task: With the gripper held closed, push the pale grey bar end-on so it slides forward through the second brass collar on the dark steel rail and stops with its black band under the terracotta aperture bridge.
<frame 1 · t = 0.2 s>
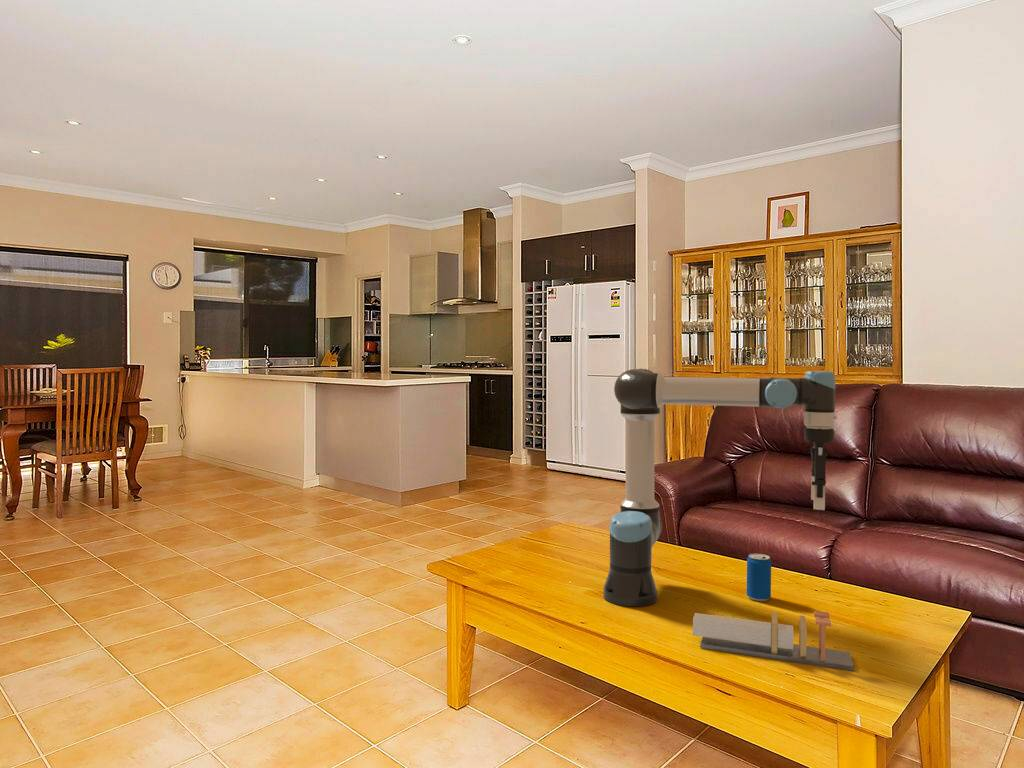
hand: (817, 504, 186), 28 cm above the table, fingers open, 13 cm apart
beverage can: (758, 598, 192), on the table
aperture gantry: (821, 659, 152), resting on rail
pale grey bar: (742, 630, 158), point 4 cm above the table, slide at 0.0 cm
rail: (774, 652, 156), on the table
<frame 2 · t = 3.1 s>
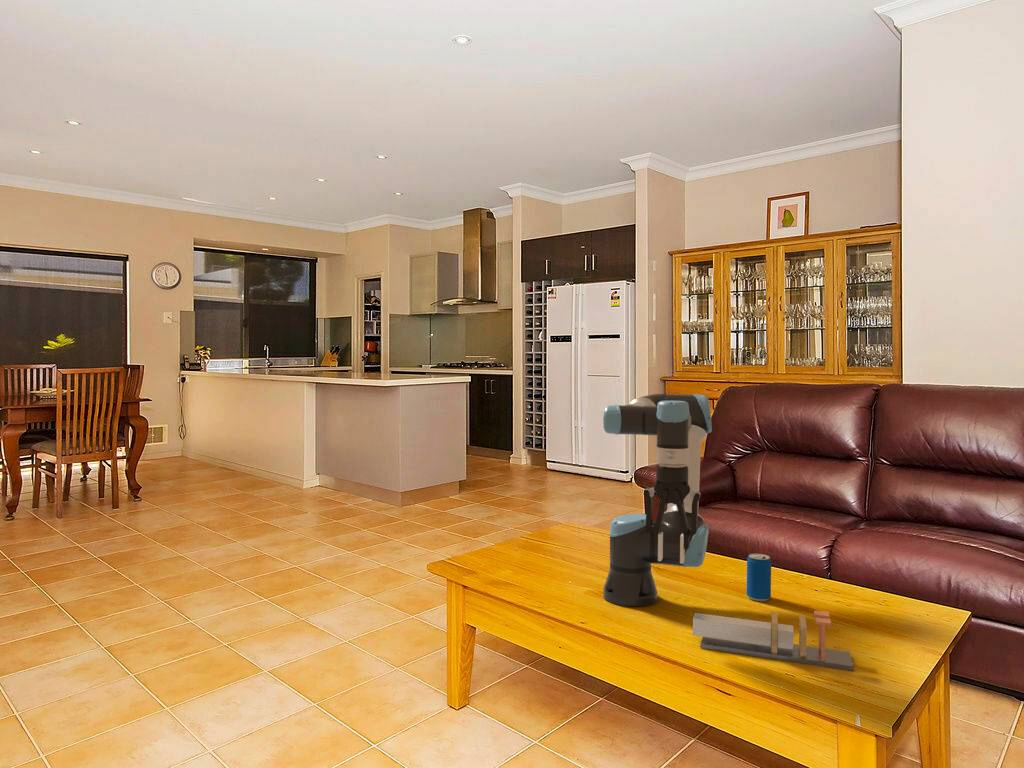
hand: (671, 560, 164), 19 cm above the table, fingers open, 4 cm apart
nothing on the table moved.
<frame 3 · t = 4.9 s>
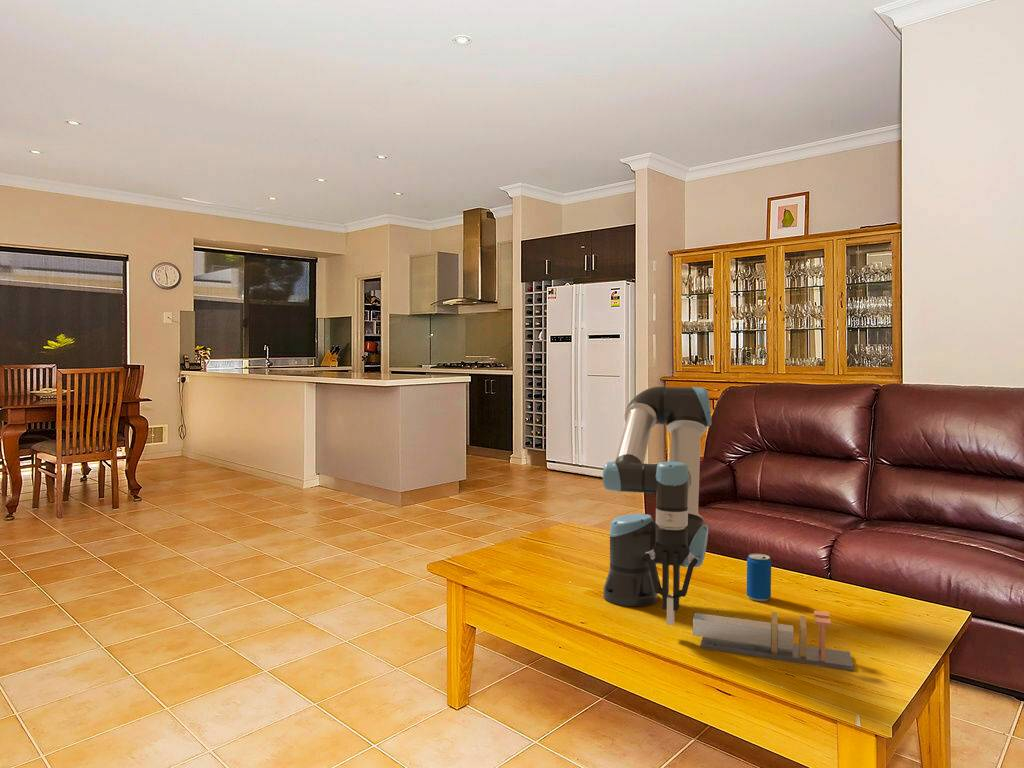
hand: (670, 622, 164), 3 cm above the table, fingers closed
nothing on the table moved.
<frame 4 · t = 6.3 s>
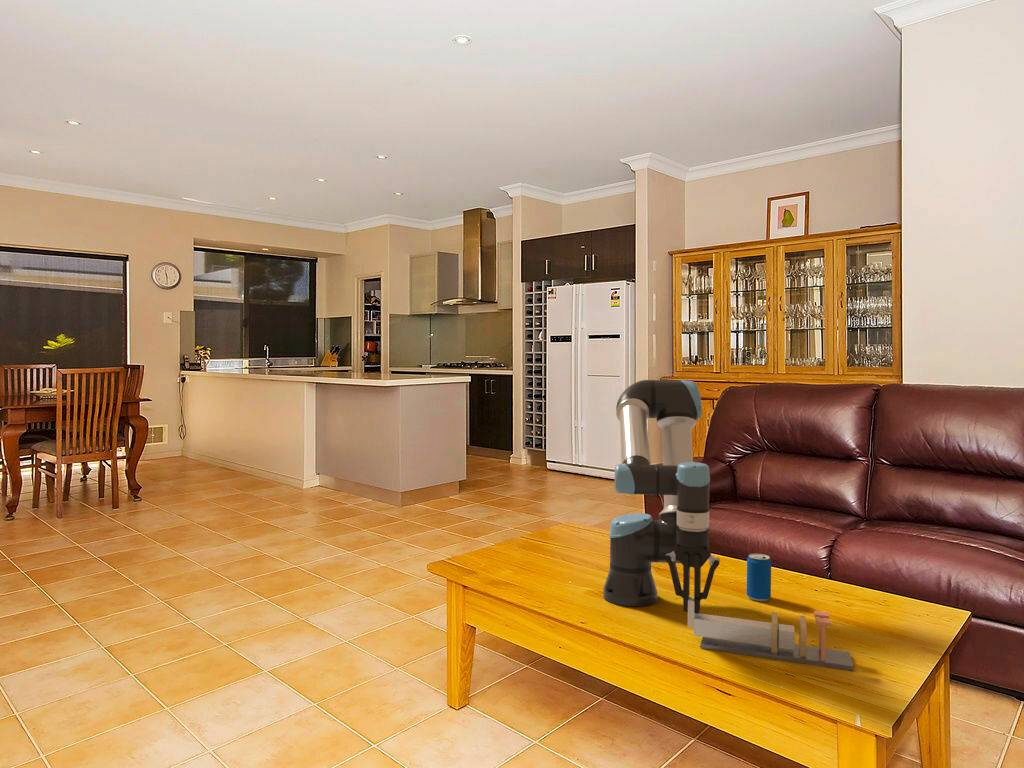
hand: (691, 625, 162), 4 cm above the table, fingers closed
pale grey bar: (743, 630, 158), point 4 cm above the table, slide at 0.2 cm, touching gripper
everything else where it was.
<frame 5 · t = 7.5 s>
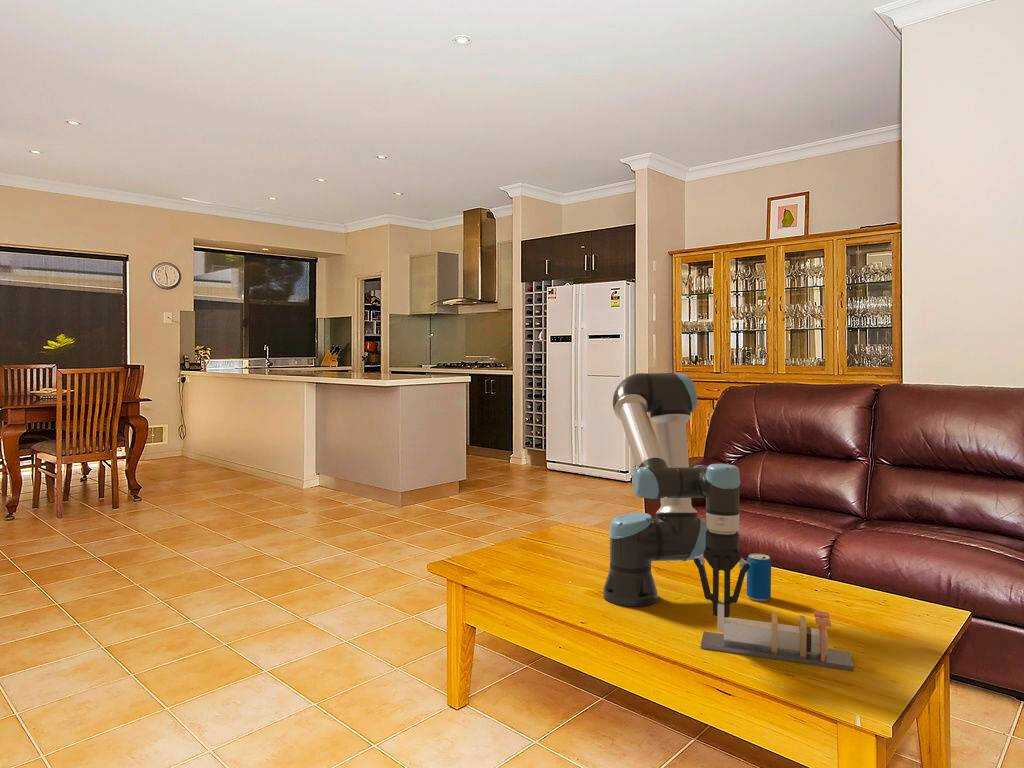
hand: (721, 629, 160), 4 cm above the table, fingers closed
pale grey bar: (774, 634, 156), point 4 cm above the table, slide at 7.0 cm, touching gripper
everything else where it was.
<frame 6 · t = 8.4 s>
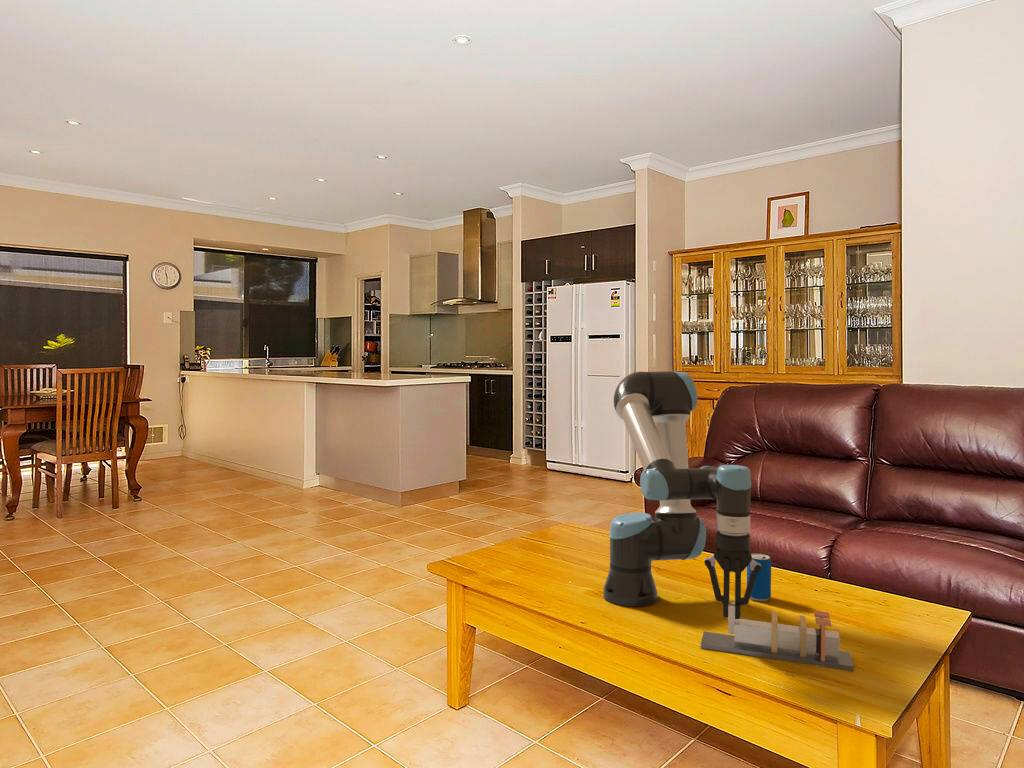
hand: (731, 631, 159), 3 cm above the table, fingers closed
pale grey bar: (785, 636, 155), point 4 cm above the table, slide at 9.4 cm, touching gripper
everything else where it was.
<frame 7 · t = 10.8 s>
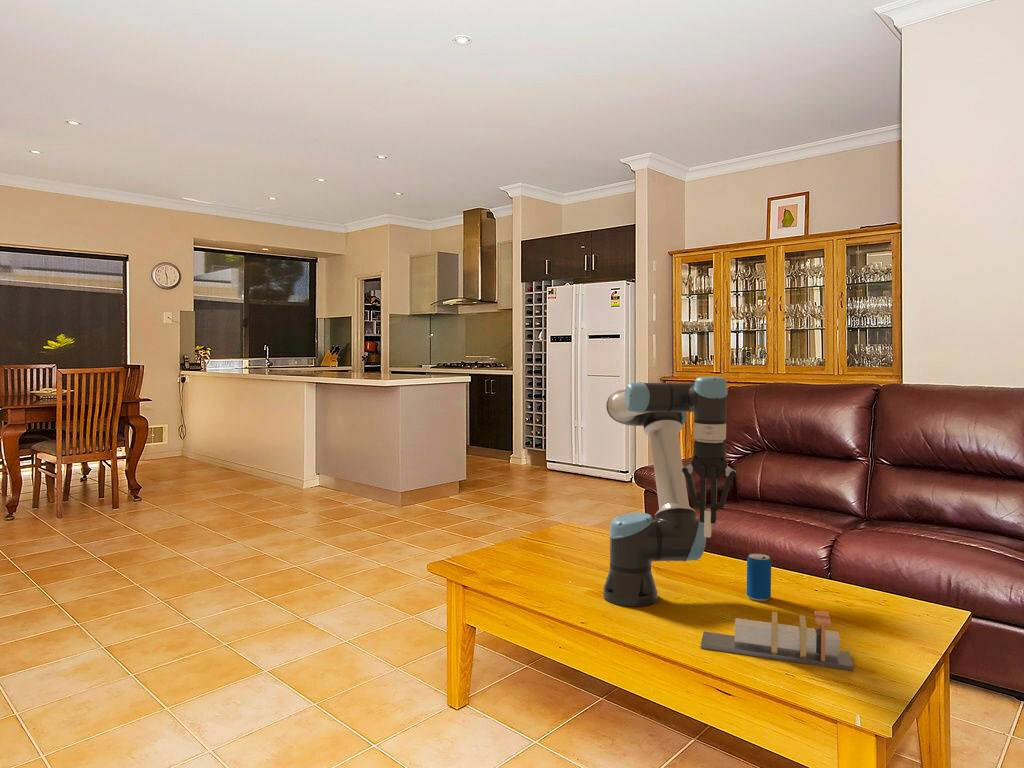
hand: (707, 535, 166), 24 cm above the table, fingers closed
pale grey bar: (785, 636, 155), point 4 cm above the table, slide at 9.4 cm
everything else where it was.
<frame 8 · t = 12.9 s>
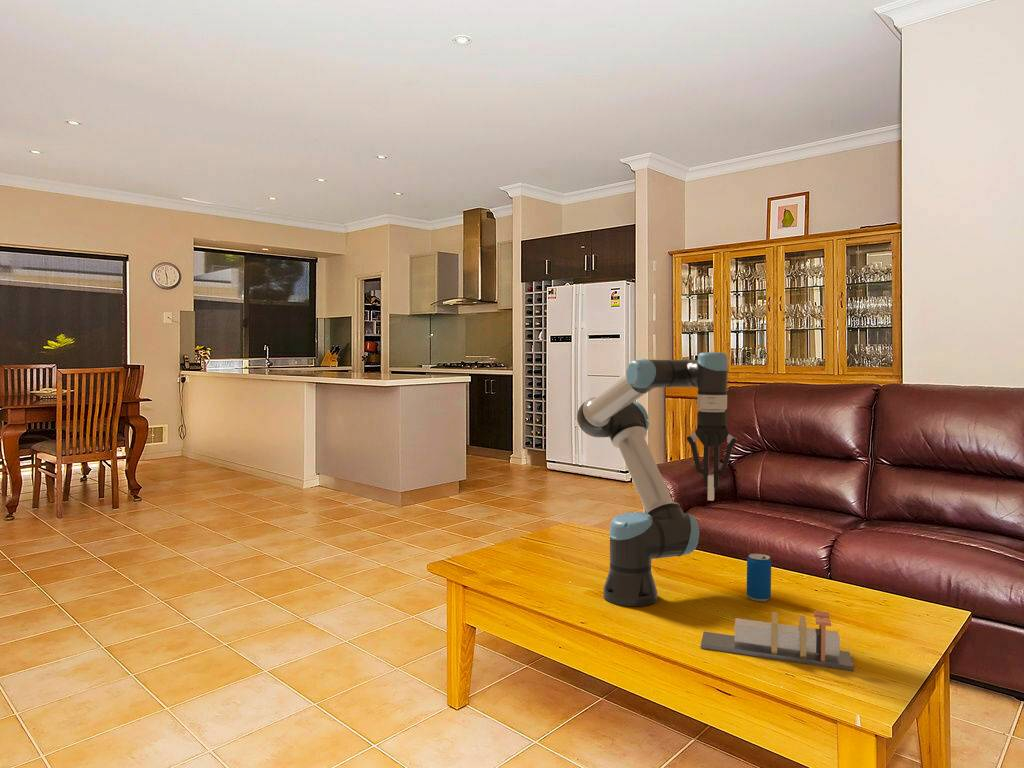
hand: (710, 499, 179), 30 cm above the table, fingers closed
nothing on the table moved.
at the end: pale grey bar slide at 9.4 cm; pale grey bar 0.6 cm from the target spot on the rail, point 4.0 cm above the rail's base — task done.
